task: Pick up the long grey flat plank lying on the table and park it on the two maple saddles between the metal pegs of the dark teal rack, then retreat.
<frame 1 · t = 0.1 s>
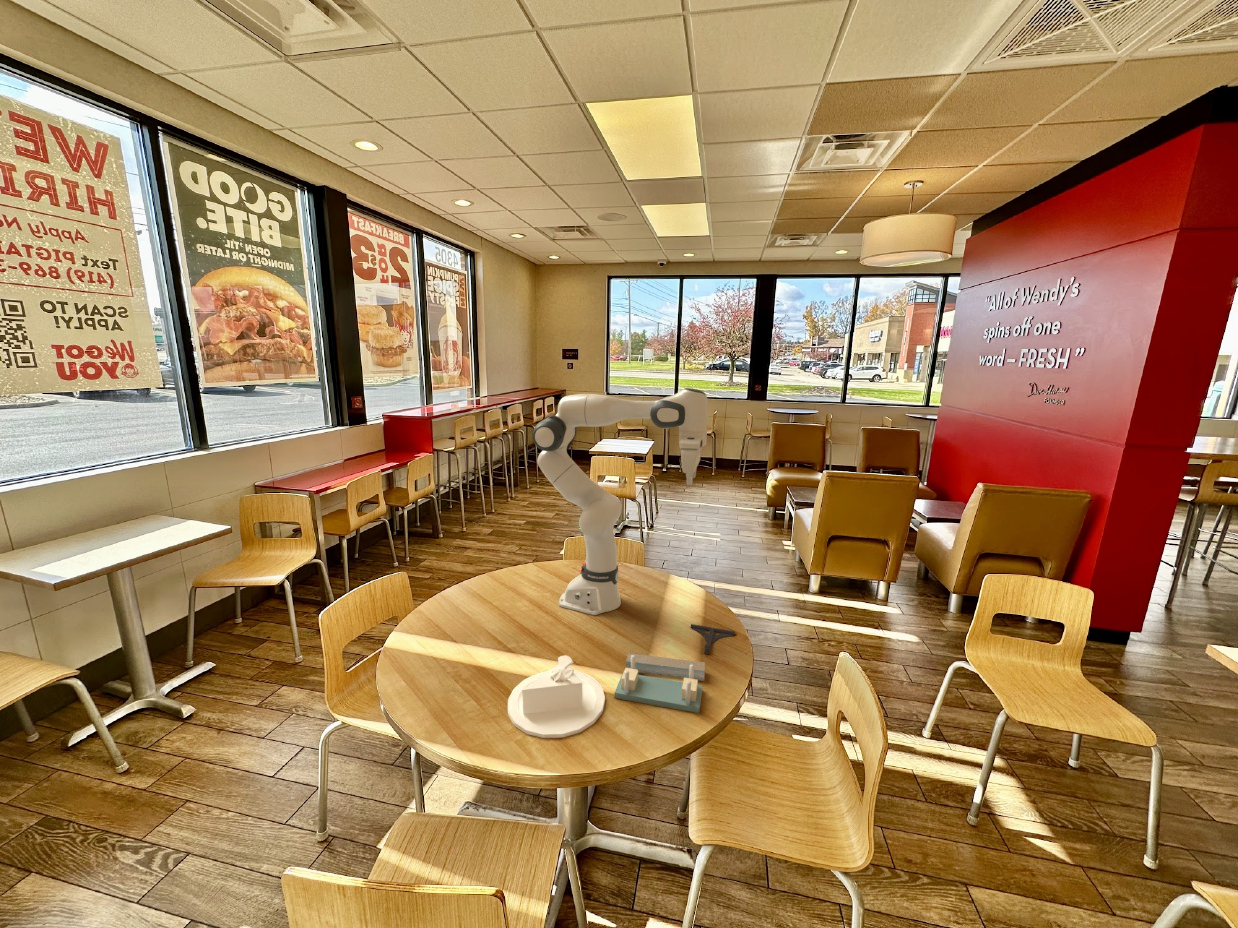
hand: (691, 480, 162), 48 cm above the table, fingers open, 8 cm apart
rack: (659, 693, 131), on the table
long grey flat plank: (665, 672, 141), on the table
dish: (556, 703, 128), on the table
bracket: (709, 643, 156), on the table
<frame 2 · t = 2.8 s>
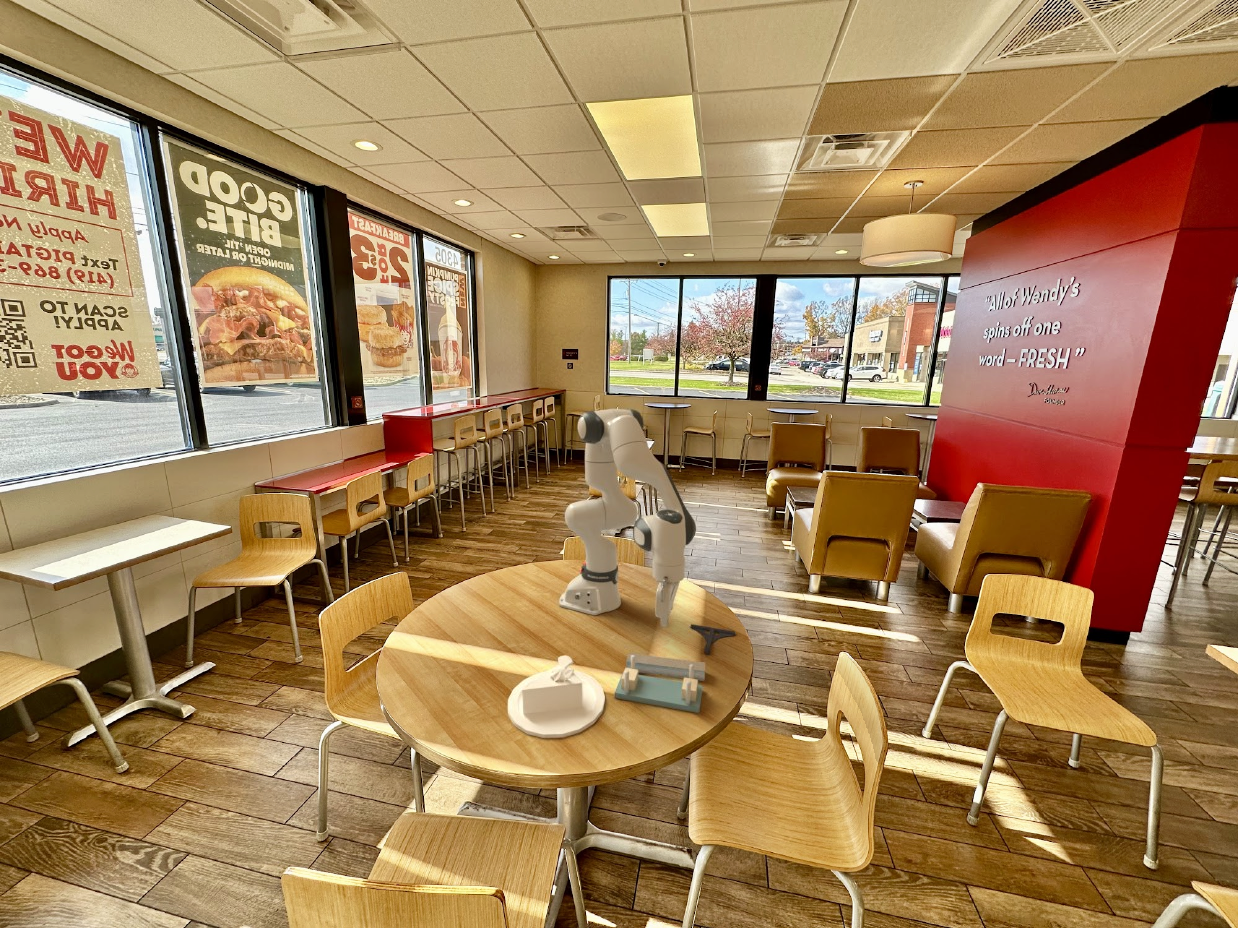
hand: (667, 616, 137), 17 cm above the table, fingers open, 8 cm apart
nothing on the table moved.
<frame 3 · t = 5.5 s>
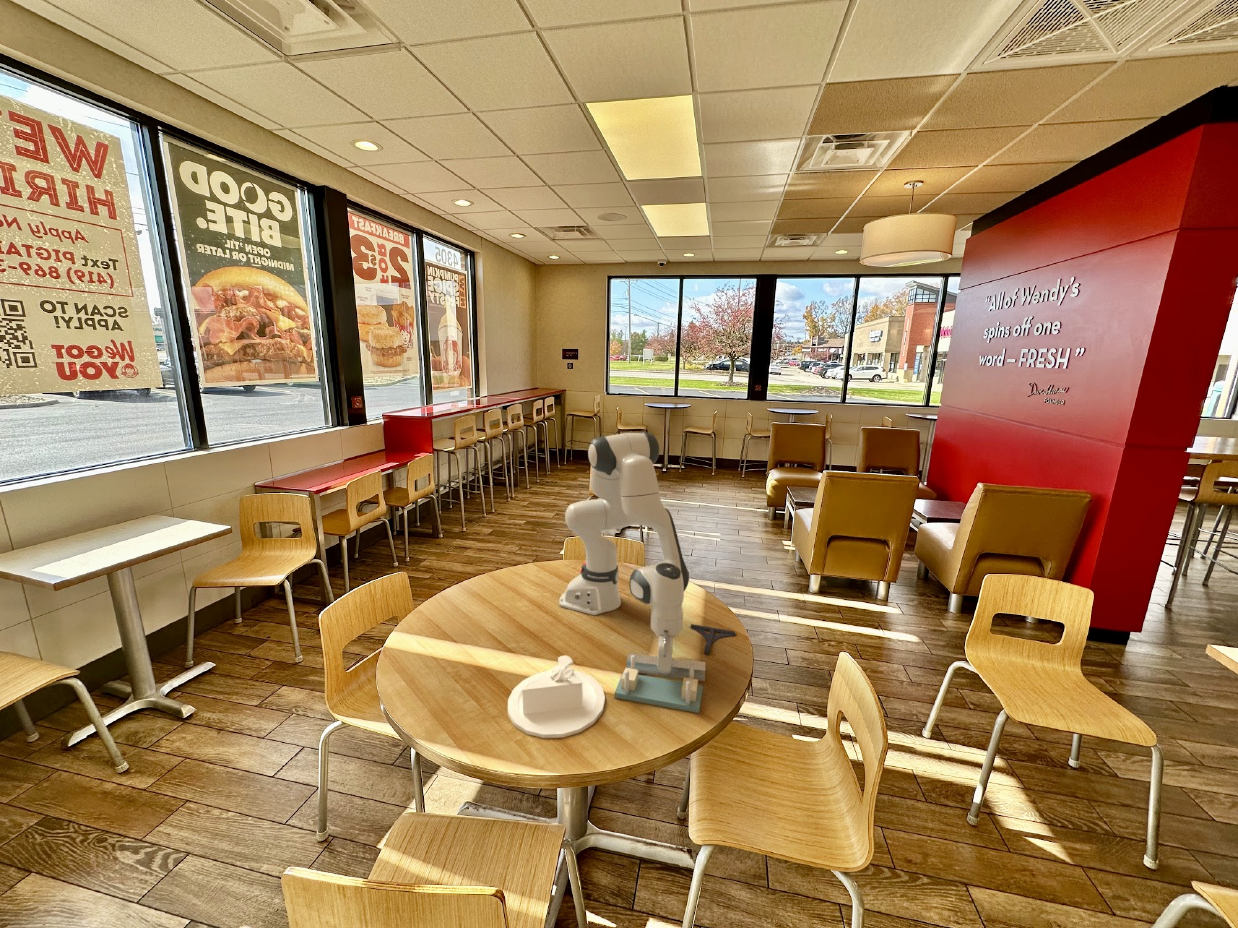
hand: (665, 666, 140), 2 cm above the table, fingers closed on long grey flat plank, 4 cm apart
long grey flat plank: (665, 672, 141), on the table, touching gripper
everything else where it was.
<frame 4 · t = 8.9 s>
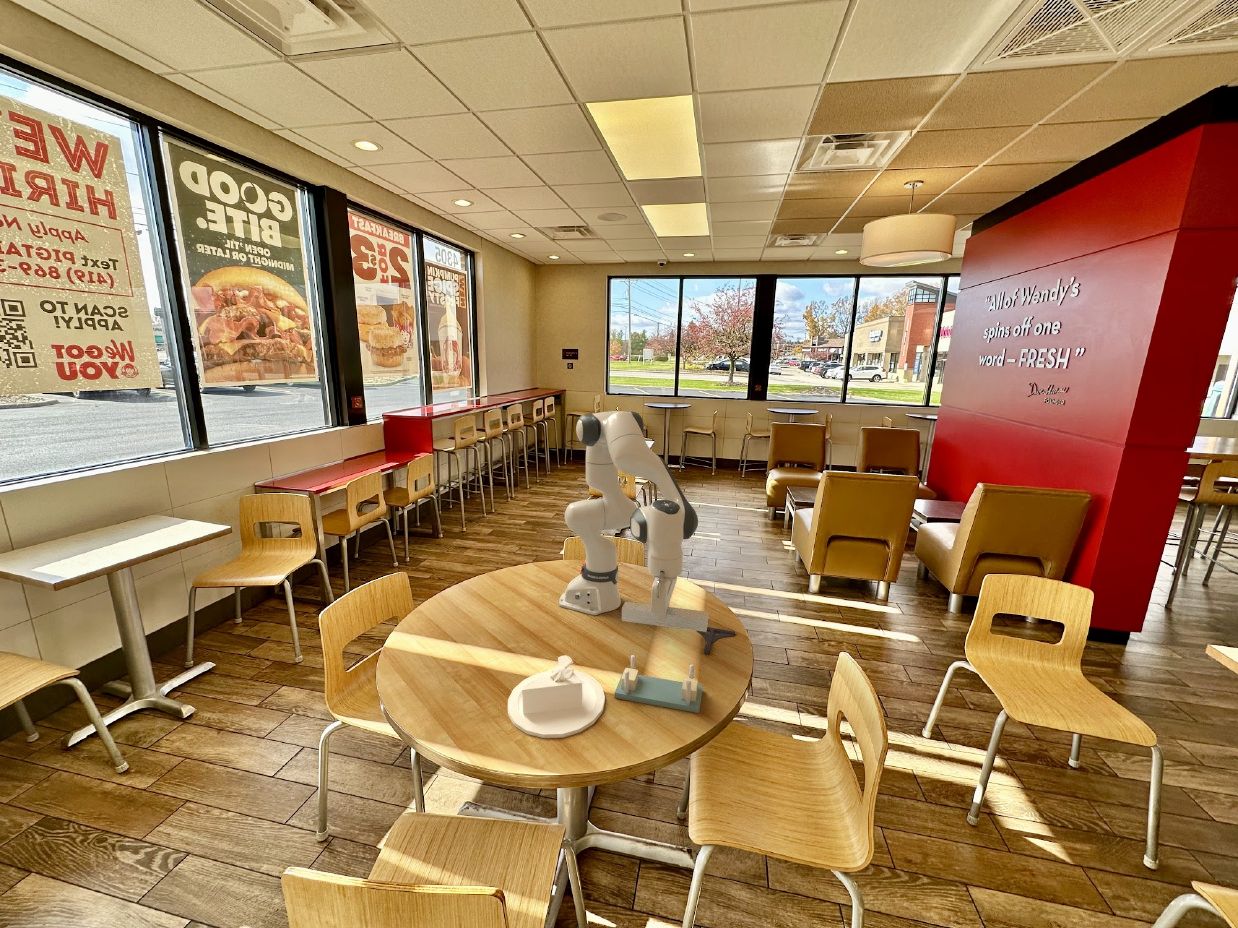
hand: (663, 614, 129), 22 cm above the table, fingers closed on long grey flat plank, 4 cm apart
long grey flat plank: (664, 622, 129), point 20 cm above the table, touching gripper
everything else where it was.
when the fingers open (8 cm above the table, at t = 12.5 s): long grey flat plank stays where it is, resting on rack.
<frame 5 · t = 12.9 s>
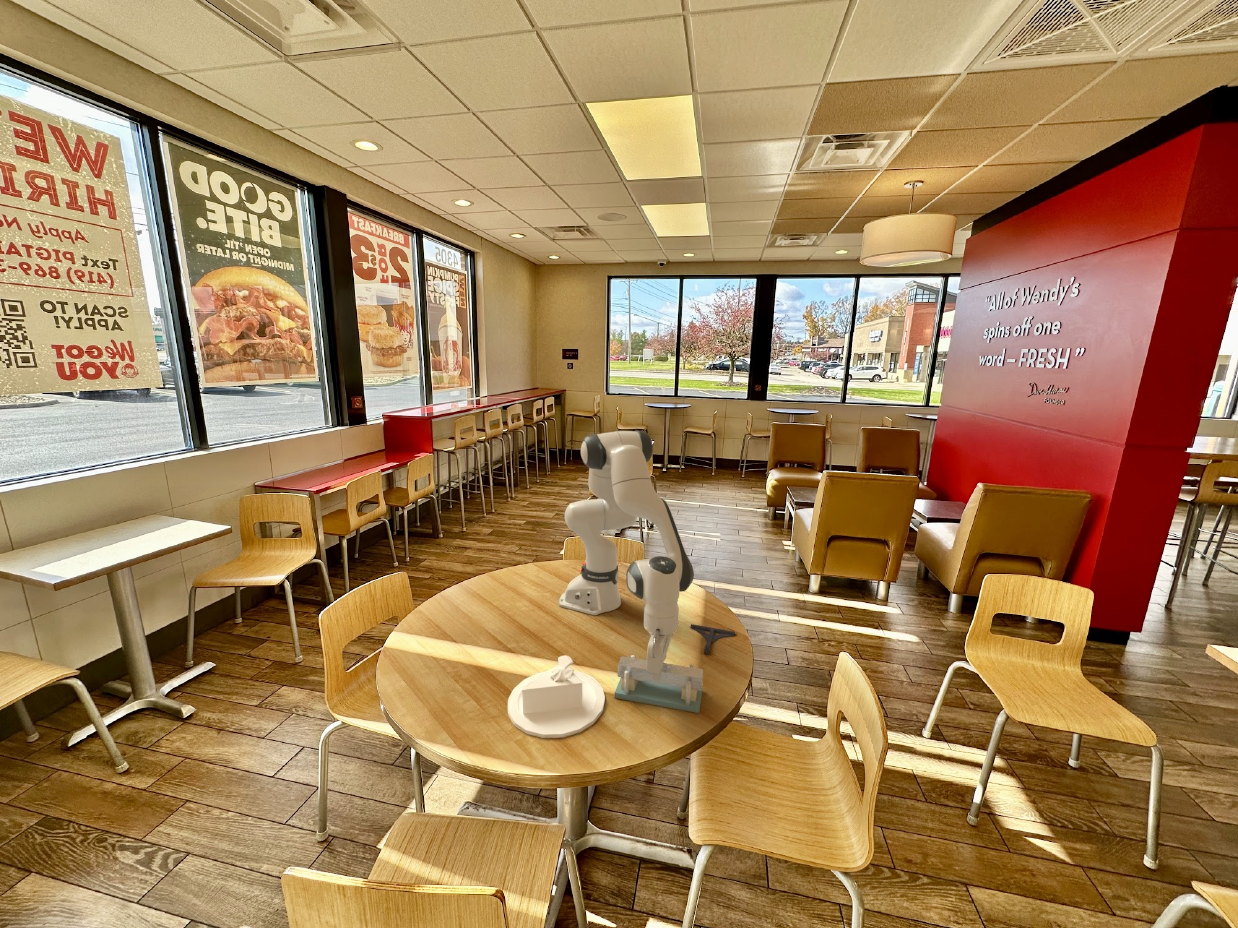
hand: (659, 668, 130), 8 cm above the table, fingers open, 8 cm apart
long grey flat plank: (659, 678, 130), point 4 cm above the table, touching rack
everything else where it was.
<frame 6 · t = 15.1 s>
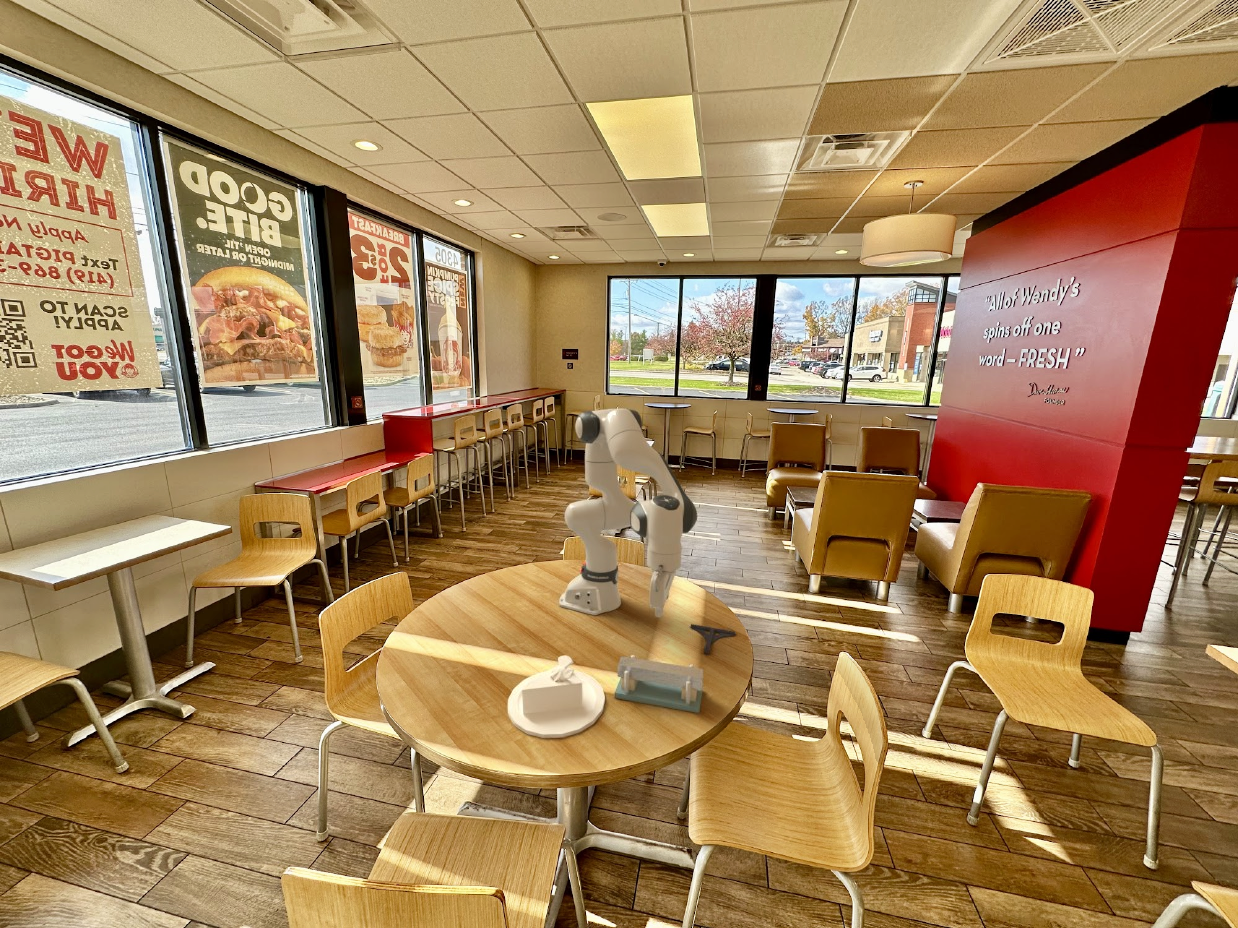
hand: (662, 606, 131), 23 cm above the table, fingers open, 8 cm apart
nothing on the table moved.
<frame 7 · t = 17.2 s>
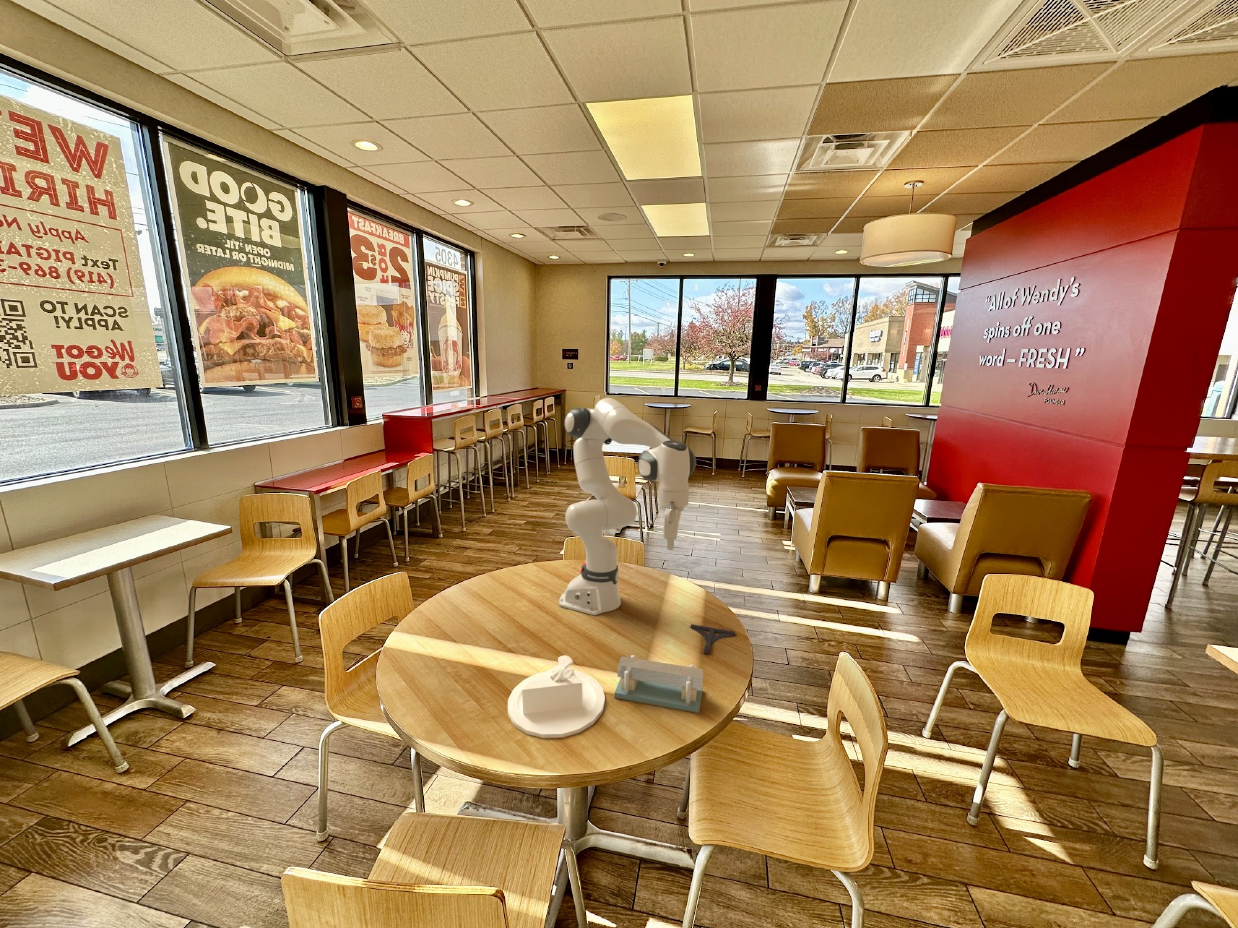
hand: (671, 543, 145), 34 cm above the table, fingers open, 8 cm apart
nothing on the table moved.
at the end: long grey flat plank 0.1 cm off-centre on the rack, point 4.5 cm above the rack's base; long grey flat plank tilted 0°; the gripper is holding nothing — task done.
